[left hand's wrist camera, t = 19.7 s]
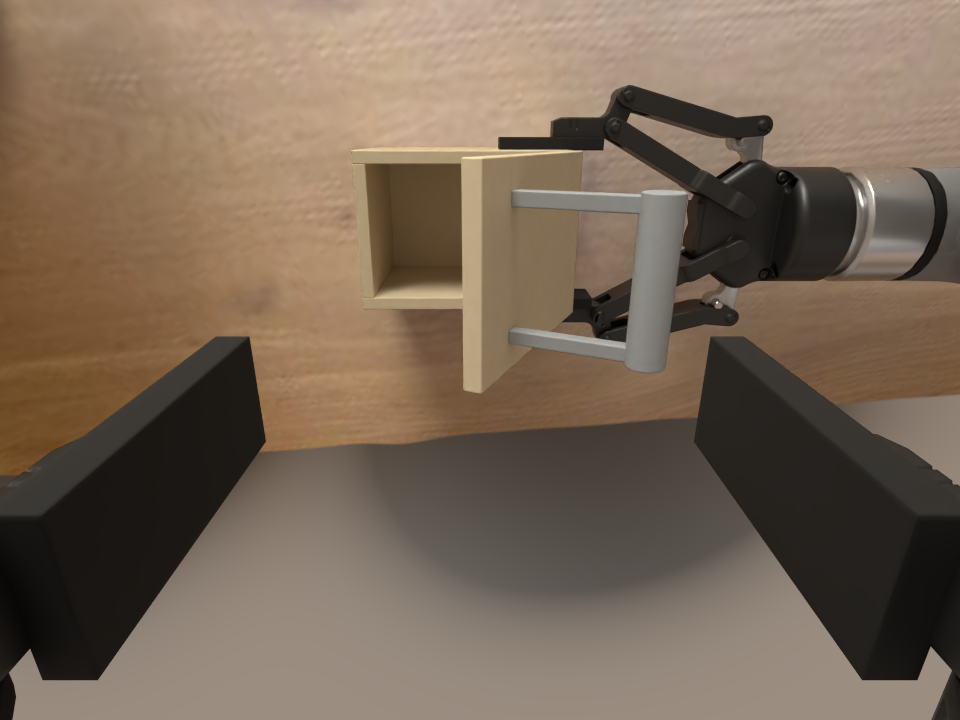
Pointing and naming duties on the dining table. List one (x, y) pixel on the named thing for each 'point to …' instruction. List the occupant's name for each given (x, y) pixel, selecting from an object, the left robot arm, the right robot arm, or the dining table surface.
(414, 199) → the chest
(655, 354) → the lid
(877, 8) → the dining table surface
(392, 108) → the dining table surface
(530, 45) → the dining table surface
